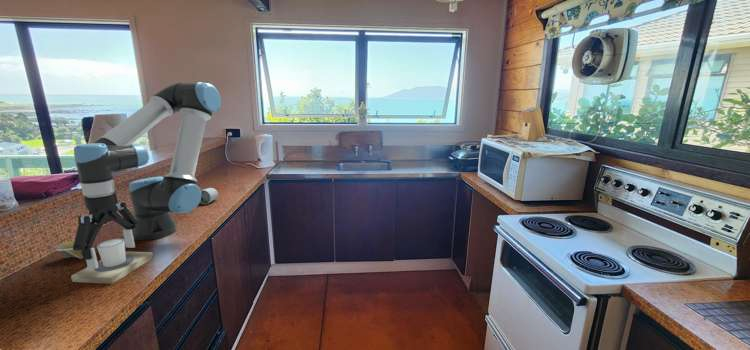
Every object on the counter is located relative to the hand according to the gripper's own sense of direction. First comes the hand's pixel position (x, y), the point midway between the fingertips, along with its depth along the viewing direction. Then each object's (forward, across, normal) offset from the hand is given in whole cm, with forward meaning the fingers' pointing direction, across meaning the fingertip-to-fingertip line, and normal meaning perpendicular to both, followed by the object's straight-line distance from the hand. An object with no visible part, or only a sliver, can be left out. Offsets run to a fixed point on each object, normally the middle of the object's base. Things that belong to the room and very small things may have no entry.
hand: (113, 256), depth 100 cm
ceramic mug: (+5, -68, -11) cm, 69 cm away
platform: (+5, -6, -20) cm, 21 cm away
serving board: (+4, 0, 0) cm, 4 cm away
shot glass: (+2, 0, 0) cm, 2 cm away
